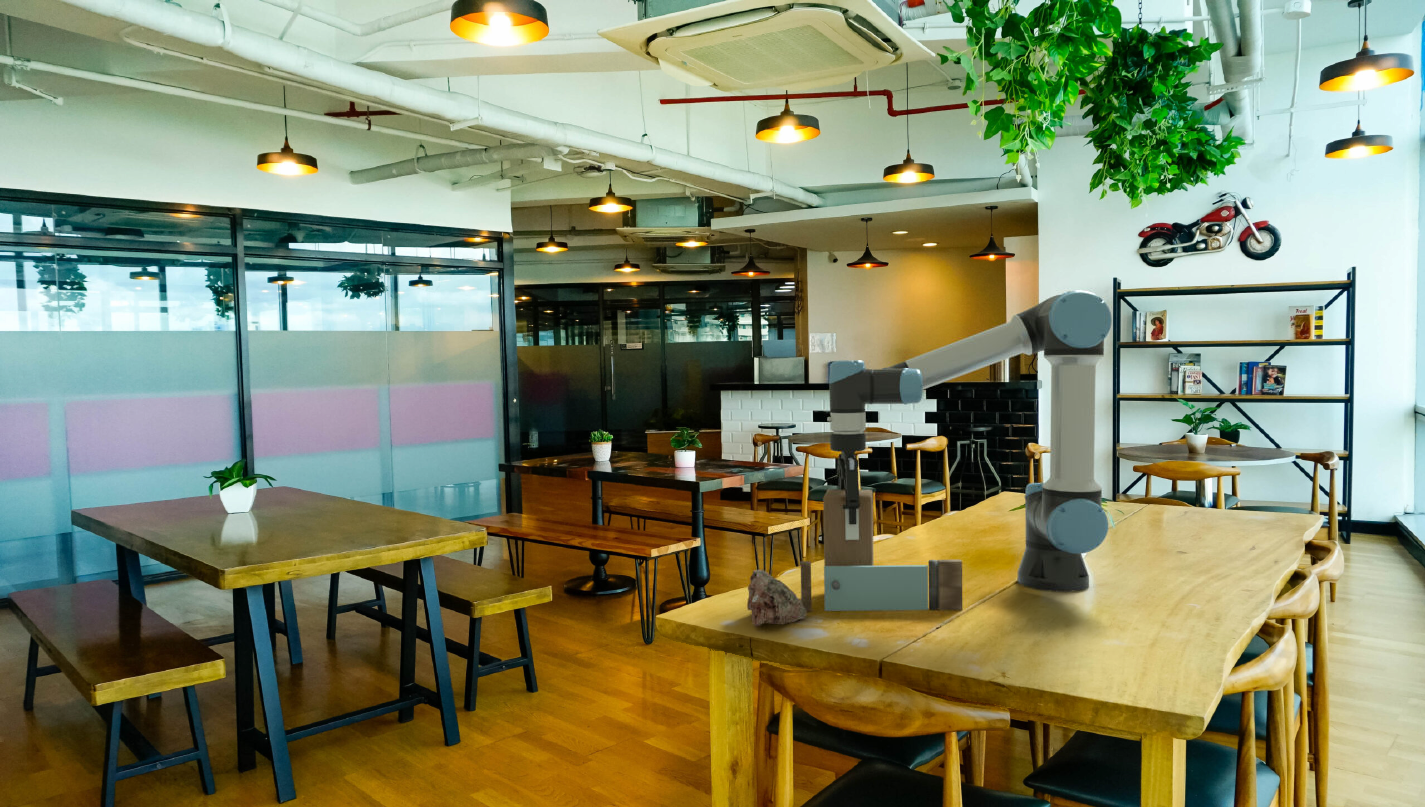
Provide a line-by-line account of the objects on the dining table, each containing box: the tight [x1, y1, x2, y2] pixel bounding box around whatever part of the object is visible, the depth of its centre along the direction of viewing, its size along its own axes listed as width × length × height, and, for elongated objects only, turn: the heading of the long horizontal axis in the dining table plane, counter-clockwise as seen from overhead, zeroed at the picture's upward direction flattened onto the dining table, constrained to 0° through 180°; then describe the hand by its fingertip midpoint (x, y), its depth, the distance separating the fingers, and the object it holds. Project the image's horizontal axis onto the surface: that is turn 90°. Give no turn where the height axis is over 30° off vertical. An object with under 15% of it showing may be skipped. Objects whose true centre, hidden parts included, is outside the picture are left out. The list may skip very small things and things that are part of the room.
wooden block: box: [823, 489, 874, 567], centre depth 193 cm, size 10×10×20 cm
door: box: [823, 564, 929, 612], centre depth 183 cm, size 21×3×9 cm, turn 88°
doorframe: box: [800, 559, 963, 612], centre depth 184 cm, size 33×2×10 cm, turn 88°
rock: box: [746, 569, 808, 628], centre depth 178 cm, size 16×11×15 cm
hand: (849, 534), depth 193 cm, fingers closed on wooden block, 11 cm apart
